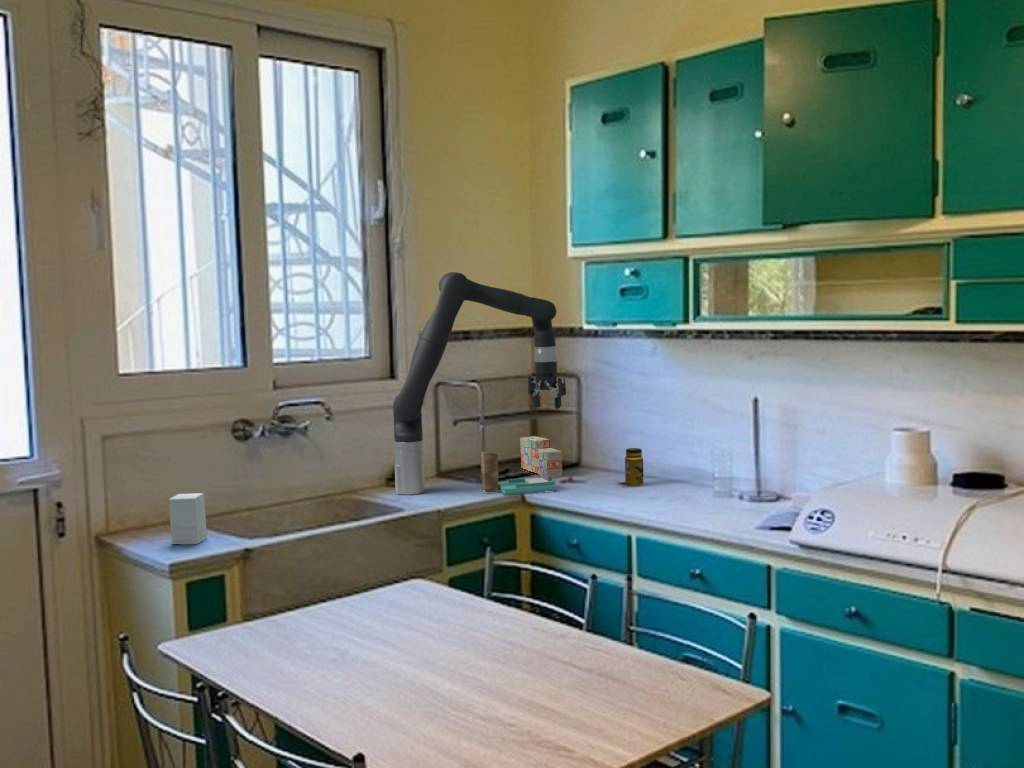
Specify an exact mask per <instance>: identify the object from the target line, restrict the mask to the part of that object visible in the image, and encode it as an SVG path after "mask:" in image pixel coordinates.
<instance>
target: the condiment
mask: <svg viewBox="0 0 1024 768" xmlns="http://www.w3.org/2000/svg"><path fill="white" fill-rule="evenodd" d="M624 478H625V480H624V481H623V482H621V481H619V482H618V481H617V482H616V483H617V484H618V485H619V486H620V487H624V488H626V487H645V486H647V484H645V483H644V457H643V451H642V448H639V447H638V448H637V447H629V448H626V449H625V457H624Z"/></svg>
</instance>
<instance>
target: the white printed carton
mask: <svg viewBox="0 0 1024 768" xmlns="http://www.w3.org/2000/svg"><path fill="white" fill-rule="evenodd" d="M519 440H520V441H519V443H520V460H521V461H520V464H521V465H520V466H521V467H520V468H523V469H526V470H528V471H531V472H534V473H537V474H539V475H541V476H540V477H542V473H546V474H548V475H550V476H552V477H553V478H560V477H563V450H559V449H556V448H552V447H551V439H550V438H545V437H540V436H536V435H532V436H523V437H521V436H520V438H519ZM539 475H538V476H539Z"/></svg>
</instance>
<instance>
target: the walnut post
mask: <svg viewBox="0 0 1024 768" xmlns="http://www.w3.org/2000/svg"><path fill="white" fill-rule="evenodd" d="M498 457H499V455H498V452H497V451H495V450H491V451H489V450H488V451H480V461H481V463H480V464H481V468H480V469H481V491H482V490H484V491H485V492H498V493H499V492H500V491H499V489H498V483H499V459H498Z"/></svg>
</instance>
